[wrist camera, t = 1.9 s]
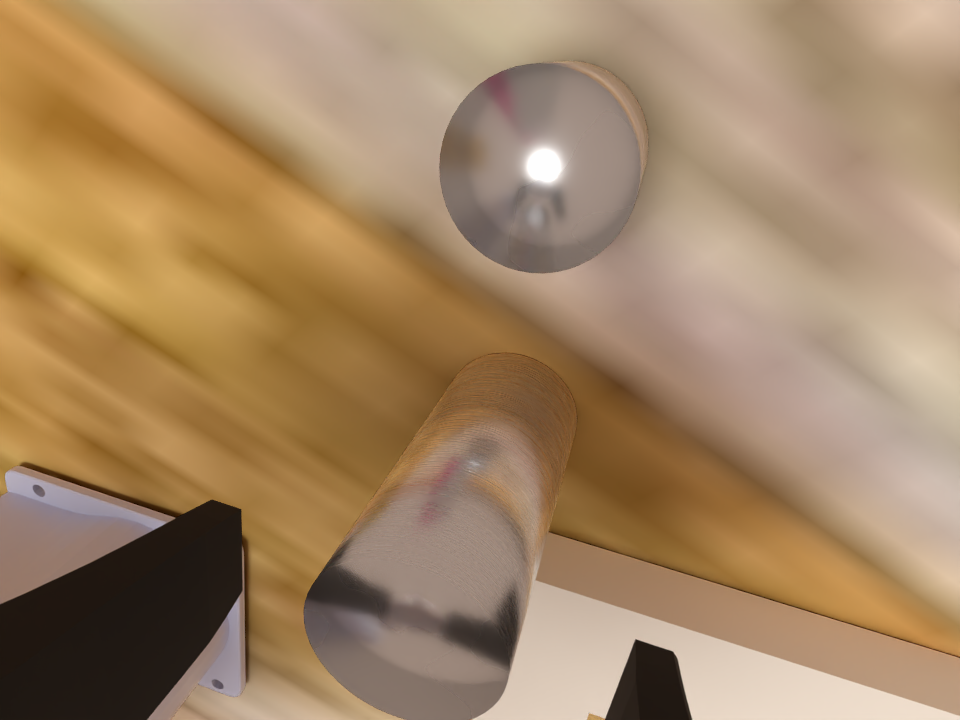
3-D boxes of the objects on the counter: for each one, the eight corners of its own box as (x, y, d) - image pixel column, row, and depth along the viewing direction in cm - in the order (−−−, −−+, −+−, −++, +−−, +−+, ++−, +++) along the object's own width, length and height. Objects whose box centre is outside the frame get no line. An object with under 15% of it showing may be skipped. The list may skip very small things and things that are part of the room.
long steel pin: (439, 450, 19) (300, 681, 12) (456, 337, 17) (306, 530, 10) (561, 485, 18) (489, 750, 11) (591, 373, 17) (527, 603, 10)
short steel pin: (476, 210, 16) (428, 249, 13) (501, 47, 14) (453, 46, 11) (625, 244, 15) (612, 292, 12) (669, 77, 14) (666, 85, 11)
